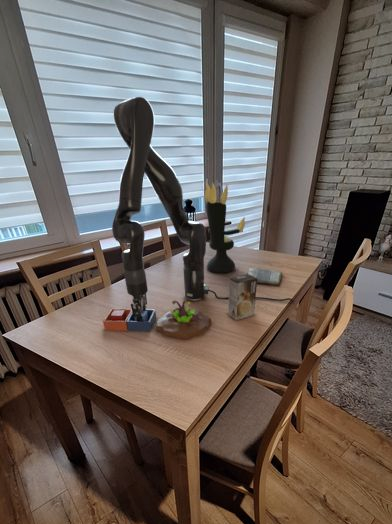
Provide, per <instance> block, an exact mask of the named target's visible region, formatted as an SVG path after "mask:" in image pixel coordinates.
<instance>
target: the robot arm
mask: <svg viewBox="0 0 392 524" xmlns="http://www.w3.org/2000/svg"><path fill="white" fill-rule="evenodd" d="M112 116H113V122H114V124H115V127H116V130H117V133H118V134H119V136H120V137H121V139H122V140H123V141H124V143H125V145H126V146H127V147H128V149H129V153H128V157H127V159H126V163H125V164H124V168H123V170H122V173H121V176H120V182H119V191H118V192H119V193H118V204H117V205H118V206H117V208H116V211H115V214H114V218H113V221H112V226H111V231H112V236H113V238H114V239H115V241H116V242H118V243H122V244H129V249H126V250H124V251H122V252H121V253H122V254H121V259H122V260H121V261H122V265H123V273H124V274H123V275H124V280H125V286H126V292H127V294H128V295H130V296H132V298H131V299H132V303H130V309H132V312H133V316H134V317H136V319H137V321H143V318H142V311H146V309H147V305H148V298H147V293H148V290H149V289H148V282H147V274H146V269H145V265H144V258H143V255H144V254H143V253H144V245H145V234H146V233H145V229H144V226H143V225H142V224H141V223H140V222H139V221H136V220H131V218H132V216H134V215H137V214H139V213H140V212H141V210H142V200H143V188H144V187H143V186H144V177H145V176H146V178H147V179H148V181H149V184H150V185H151V187H152V189H153V191H154V194H156V196H157V199H159V201H160V203H161V204H162V206H163V209H164V211H165V212H166V214H167V216H168V217H169V219H170V221H171V224H172V226H173V228H174V230H175V232H176V236H177V237H178V239H179V240H180V242H181V243H183V244H185V245H187V246H189V249H188V250H189V251H188V252H186V253H184V254H183V255H182V265H183V288H184V290H183V291H184V300H188V301H190V302H198V301H204V300H205V295H206V296H207V295H209V293H212V294H214V296H215V298H216V299H219V300H229V296H228V297H220V296H218V294H217V293H216V291H214V290H211V289H209V288H210V287H209V285H206V284H205V256H206V253H207V252H206V251H207V229H206V226H205V225H204V224H203V223H202V222H197V221H192V220H190V218H189V217H188V215H187V213H186V211H185V208H184V204H183V203H184V196H183V194H184V192H183V189H182V185H181V183H180V181H179V178H178V176H177V174H176V173H175V171H174V169H173V168H172V167H171V166H170V165H169V164H168V163H167V161H166V160H165V159H164V158H162V157H161V156H160V155H159V154H158V152H156V151H155V149H154V148H153V147H152V146H151V143H152V141H153V135H154V130H155V114H154V110H153V107H152V104H151V103H150V102H149V100H147V99H146V98H145V97H143V96H135V97H131V98H129V99H125V100H124V101H120V102H119V103H117V104H116V105H115V106H114V108H113V115H112ZM256 299H257V300H269V301H277V302H284V301H291V302H295V300H294V299H293V298H290V297H288V298H287V297H286V298H283V299H282V298H270V297H263V296H262V297H261V296H256ZM256 299H255V300H256Z"/></svg>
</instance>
